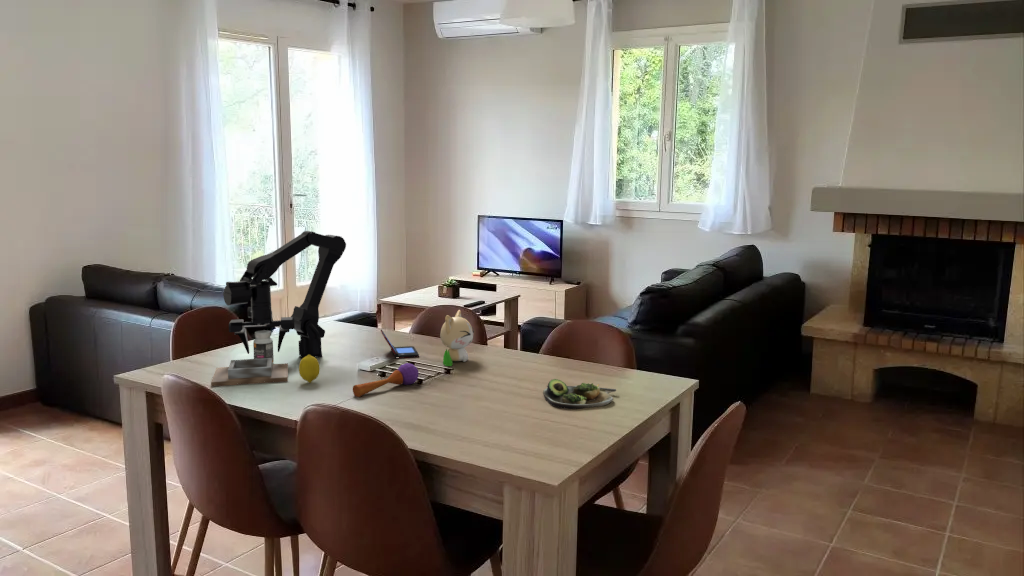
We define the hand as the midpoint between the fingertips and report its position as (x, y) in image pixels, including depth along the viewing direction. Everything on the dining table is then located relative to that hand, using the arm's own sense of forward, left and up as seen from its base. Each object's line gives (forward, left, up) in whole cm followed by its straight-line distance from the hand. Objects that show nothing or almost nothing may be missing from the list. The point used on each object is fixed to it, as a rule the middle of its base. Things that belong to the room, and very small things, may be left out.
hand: (263, 352), depth 243 cm
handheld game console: (-41, -3, -4) cm, 41 cm away
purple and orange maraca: (-33, +36, -4) cm, 49 cm away
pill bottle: (0, 0, -4) cm, 4 cm away
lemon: (-13, +25, -4) cm, 28 cm away
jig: (+3, +14, -4) cm, 15 cm away
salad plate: (-79, +58, -4) cm, 98 cm away
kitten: (-57, +11, -4) cm, 58 cm away
